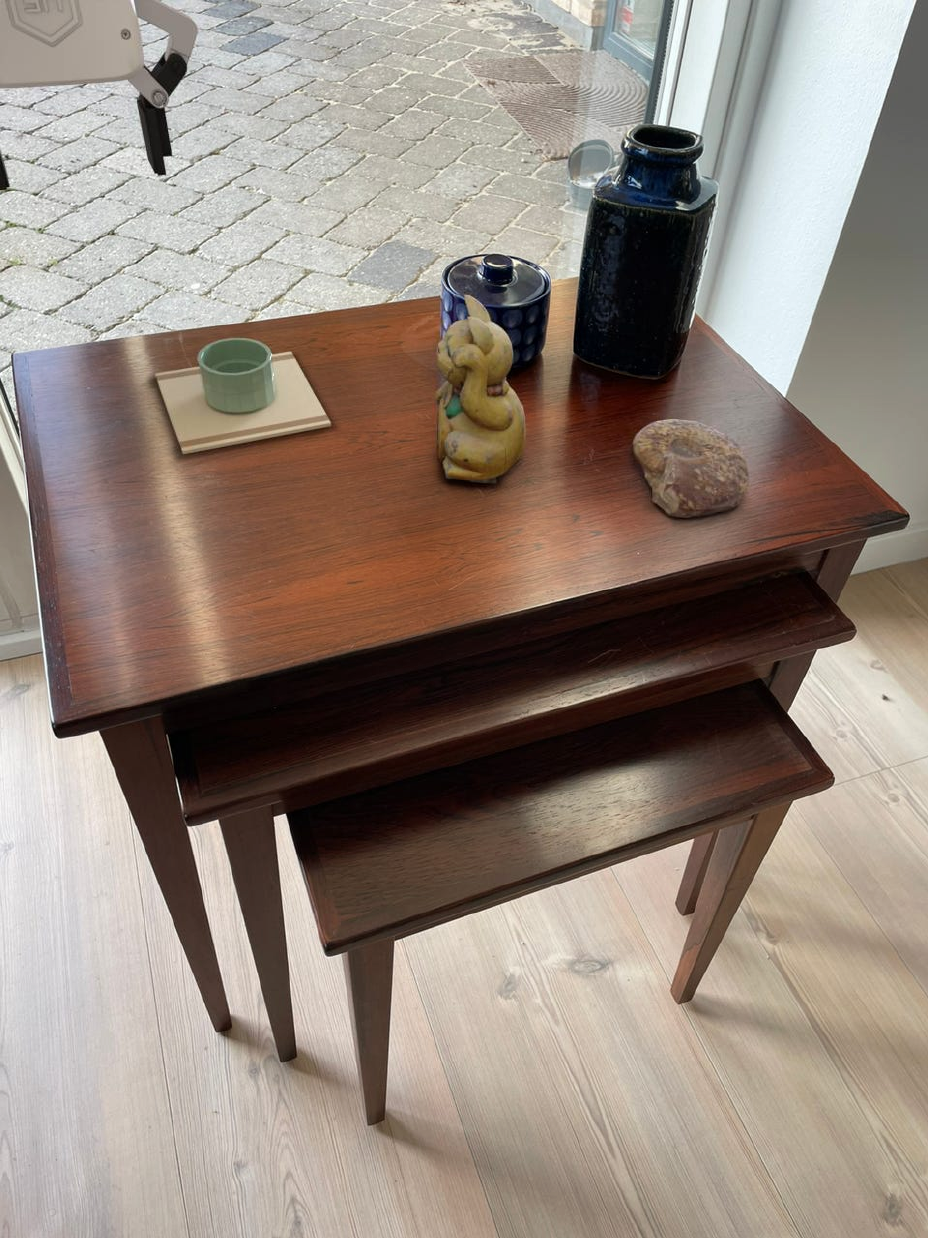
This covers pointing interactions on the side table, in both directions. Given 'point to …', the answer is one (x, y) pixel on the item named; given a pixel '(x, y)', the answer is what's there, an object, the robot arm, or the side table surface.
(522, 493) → the side table surface
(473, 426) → the decorative figurine
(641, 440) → the fossil
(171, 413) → the cloth
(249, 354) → the bowl
